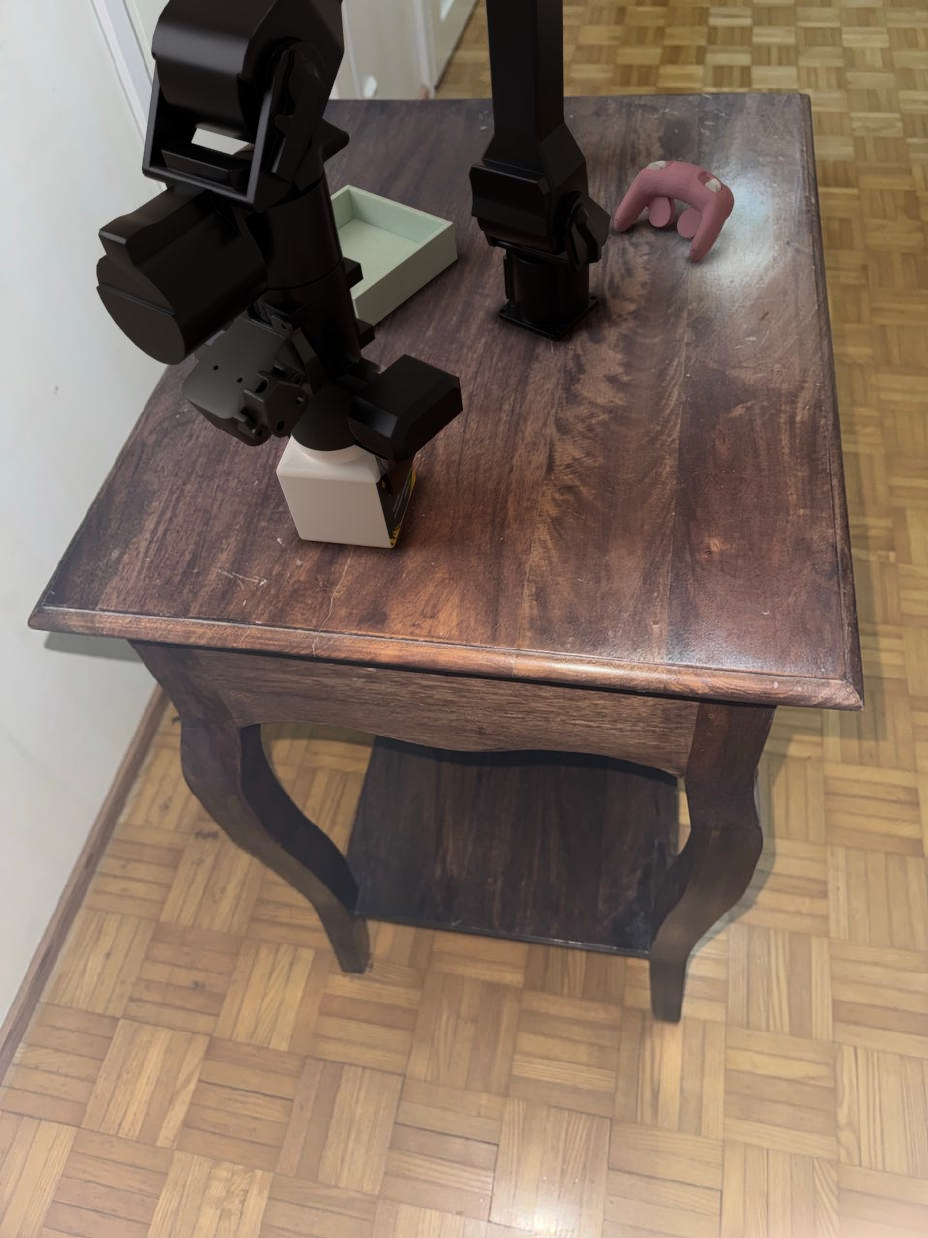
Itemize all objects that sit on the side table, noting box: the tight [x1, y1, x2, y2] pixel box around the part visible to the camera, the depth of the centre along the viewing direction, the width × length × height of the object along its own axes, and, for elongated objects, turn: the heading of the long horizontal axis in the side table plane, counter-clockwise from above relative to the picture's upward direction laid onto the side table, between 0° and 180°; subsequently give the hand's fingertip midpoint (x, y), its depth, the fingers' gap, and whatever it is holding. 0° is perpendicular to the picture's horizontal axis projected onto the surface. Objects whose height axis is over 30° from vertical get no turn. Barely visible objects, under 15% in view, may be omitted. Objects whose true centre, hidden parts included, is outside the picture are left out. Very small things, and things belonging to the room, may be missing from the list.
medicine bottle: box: [275, 383, 416, 549], centre depth 62 cm, size 7×7×12 cm
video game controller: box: [613, 160, 735, 263], centre depth 81 cm, size 10×5×7 cm, turn 47°
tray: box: [330, 184, 458, 327], centre depth 83 cm, size 13×13×4 cm
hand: (345, 463), depth 63 cm, fingers open, 9 cm apart
